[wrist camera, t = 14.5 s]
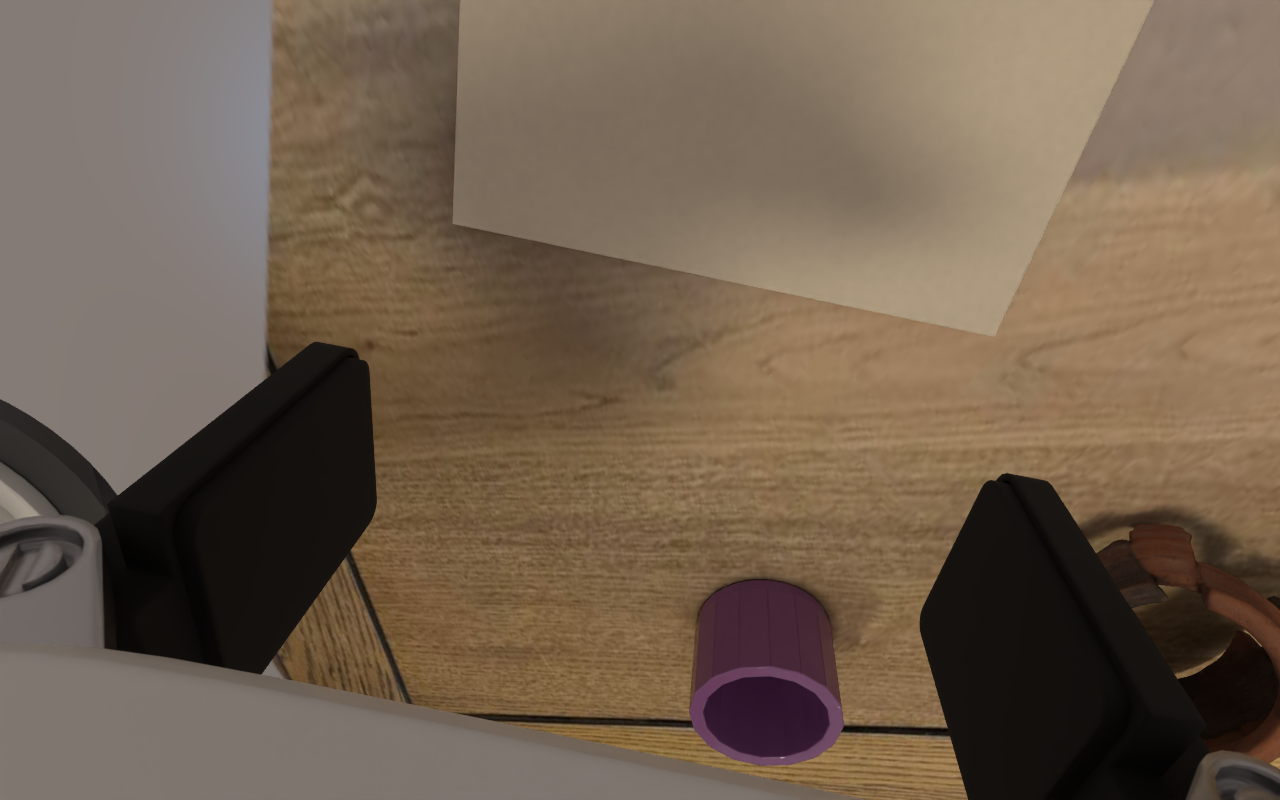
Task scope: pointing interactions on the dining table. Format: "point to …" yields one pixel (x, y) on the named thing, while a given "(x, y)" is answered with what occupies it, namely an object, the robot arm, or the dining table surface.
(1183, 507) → the dining table surface
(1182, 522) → the dining table surface
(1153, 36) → the dining table surface
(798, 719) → the purple hollow cylinder
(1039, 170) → the placemat
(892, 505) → the dining table surface
